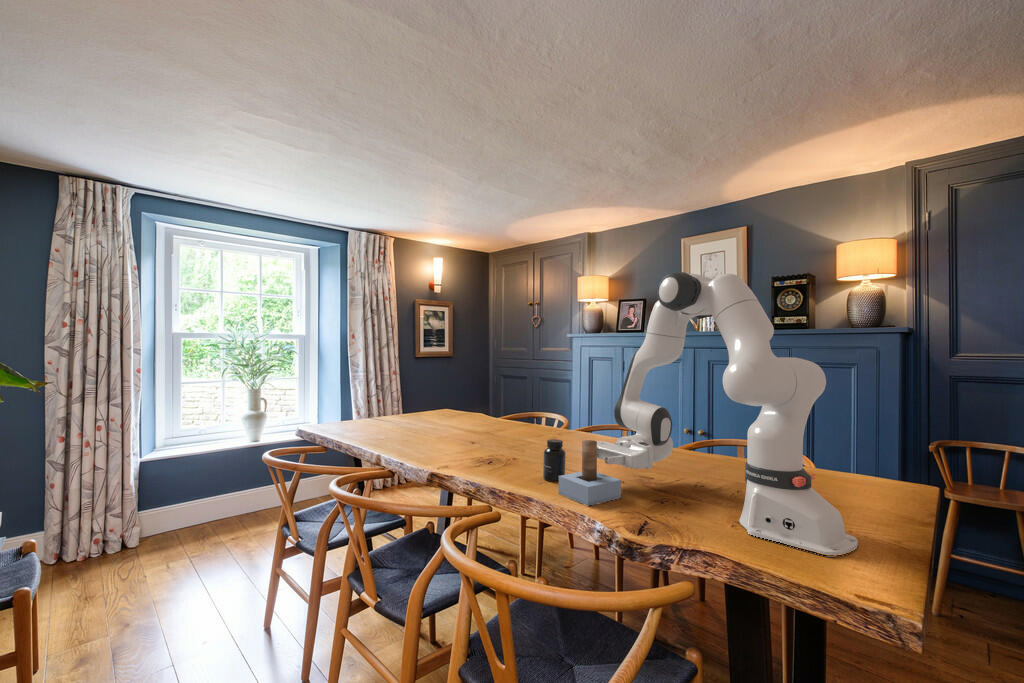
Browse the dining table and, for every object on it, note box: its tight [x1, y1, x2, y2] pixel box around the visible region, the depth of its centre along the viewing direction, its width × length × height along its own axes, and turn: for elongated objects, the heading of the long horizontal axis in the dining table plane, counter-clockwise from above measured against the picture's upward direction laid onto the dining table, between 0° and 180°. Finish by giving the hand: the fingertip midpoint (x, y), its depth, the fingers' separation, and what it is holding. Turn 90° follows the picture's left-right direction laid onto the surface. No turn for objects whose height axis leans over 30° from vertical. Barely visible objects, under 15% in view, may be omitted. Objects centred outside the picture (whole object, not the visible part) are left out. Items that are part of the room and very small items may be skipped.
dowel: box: [581, 439, 598, 482], centre depth 127 cm, size 4×4×14 cm
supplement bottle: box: [542, 438, 567, 482], centre depth 143 cm, size 7×7×12 cm
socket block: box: [558, 471, 622, 507], centre depth 127 cm, size 12×12×5 cm
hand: (594, 457), depth 128 cm, fingers open, 8 cm apart
